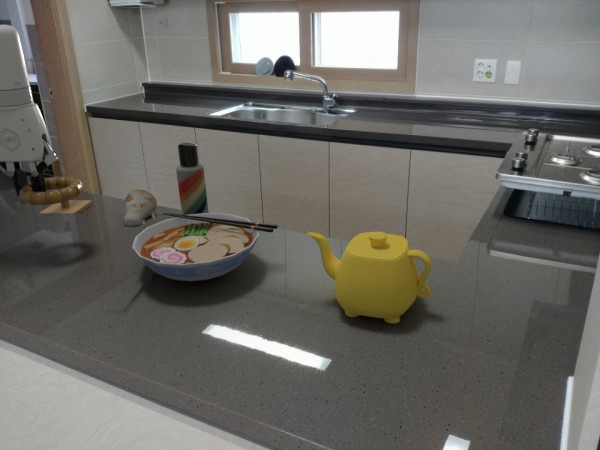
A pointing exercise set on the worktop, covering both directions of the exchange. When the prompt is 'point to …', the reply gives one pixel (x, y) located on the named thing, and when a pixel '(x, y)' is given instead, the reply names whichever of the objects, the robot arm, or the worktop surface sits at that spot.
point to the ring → (66, 191)
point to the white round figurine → (139, 207)
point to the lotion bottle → (191, 181)
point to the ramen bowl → (198, 244)
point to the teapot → (376, 275)
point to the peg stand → (69, 205)
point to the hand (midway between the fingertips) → (31, 193)
